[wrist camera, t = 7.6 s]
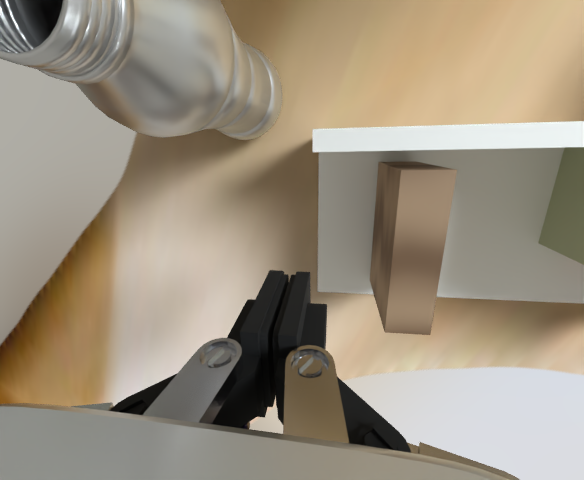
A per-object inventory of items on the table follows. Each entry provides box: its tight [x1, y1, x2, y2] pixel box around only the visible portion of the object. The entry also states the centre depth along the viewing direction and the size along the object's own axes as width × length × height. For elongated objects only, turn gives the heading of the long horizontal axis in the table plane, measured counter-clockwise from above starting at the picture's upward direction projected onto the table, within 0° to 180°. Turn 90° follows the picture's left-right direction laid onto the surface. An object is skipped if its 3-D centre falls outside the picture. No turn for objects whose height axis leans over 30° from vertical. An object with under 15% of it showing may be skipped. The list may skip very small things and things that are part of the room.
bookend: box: [370, 161, 457, 335], centre depth 21 cm, size 11×3×8 cm, turn 1°
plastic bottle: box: [0, 0, 282, 140], centre depth 15 cm, size 6×7×20 cm
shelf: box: [313, 121, 584, 304], centre depth 19 cm, size 15×30×13 cm, turn 91°
